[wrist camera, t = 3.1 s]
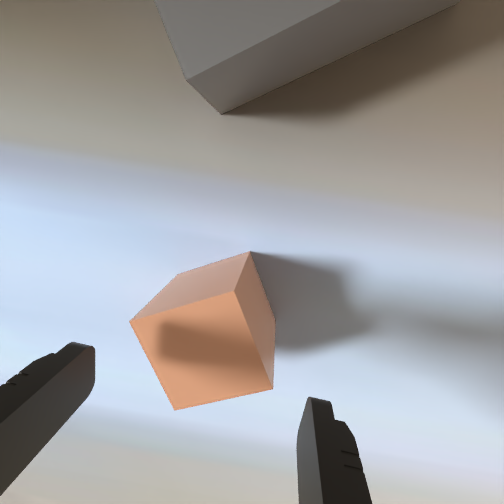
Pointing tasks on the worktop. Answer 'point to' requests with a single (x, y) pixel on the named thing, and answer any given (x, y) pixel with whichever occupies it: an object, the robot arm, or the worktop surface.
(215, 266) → the terracotta block
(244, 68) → the gray slab
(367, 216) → the worktop surface
